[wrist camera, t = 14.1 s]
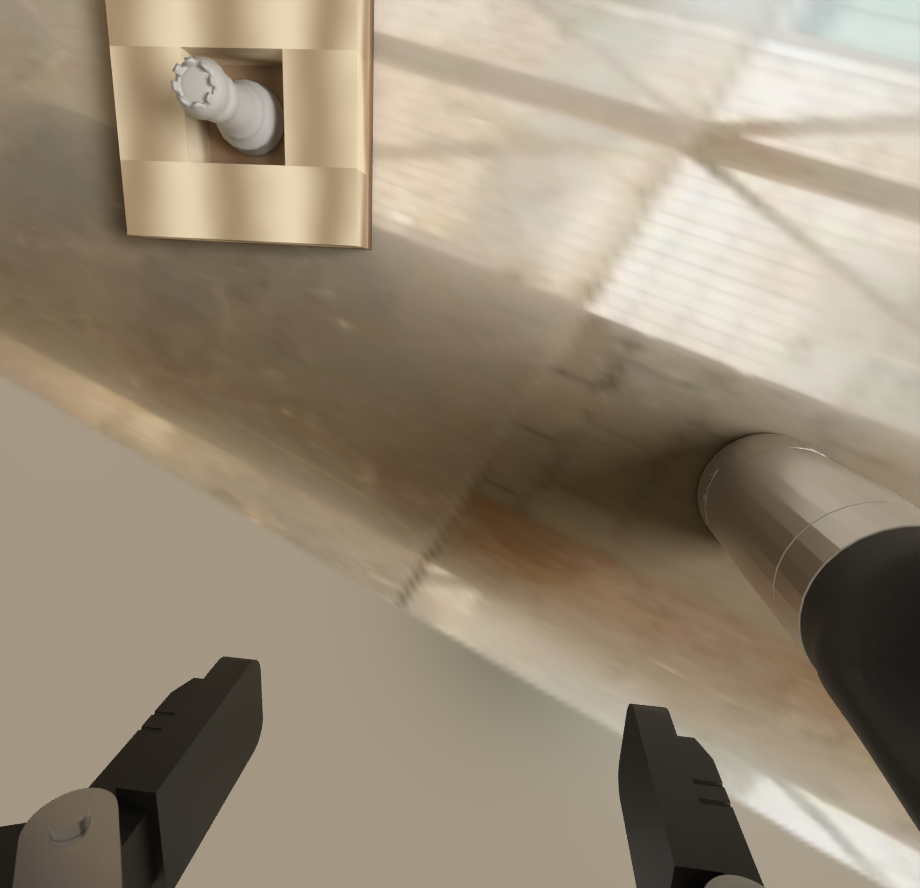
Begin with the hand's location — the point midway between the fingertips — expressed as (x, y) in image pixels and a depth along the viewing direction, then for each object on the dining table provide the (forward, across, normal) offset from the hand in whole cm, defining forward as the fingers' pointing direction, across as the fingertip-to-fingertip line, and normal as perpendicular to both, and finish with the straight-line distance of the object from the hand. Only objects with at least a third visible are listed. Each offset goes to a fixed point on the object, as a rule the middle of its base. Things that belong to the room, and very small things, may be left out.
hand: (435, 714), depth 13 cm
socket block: (+33, +18, -19) cm, 42 cm away
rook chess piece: (+32, +18, -19) cm, 41 cm away
